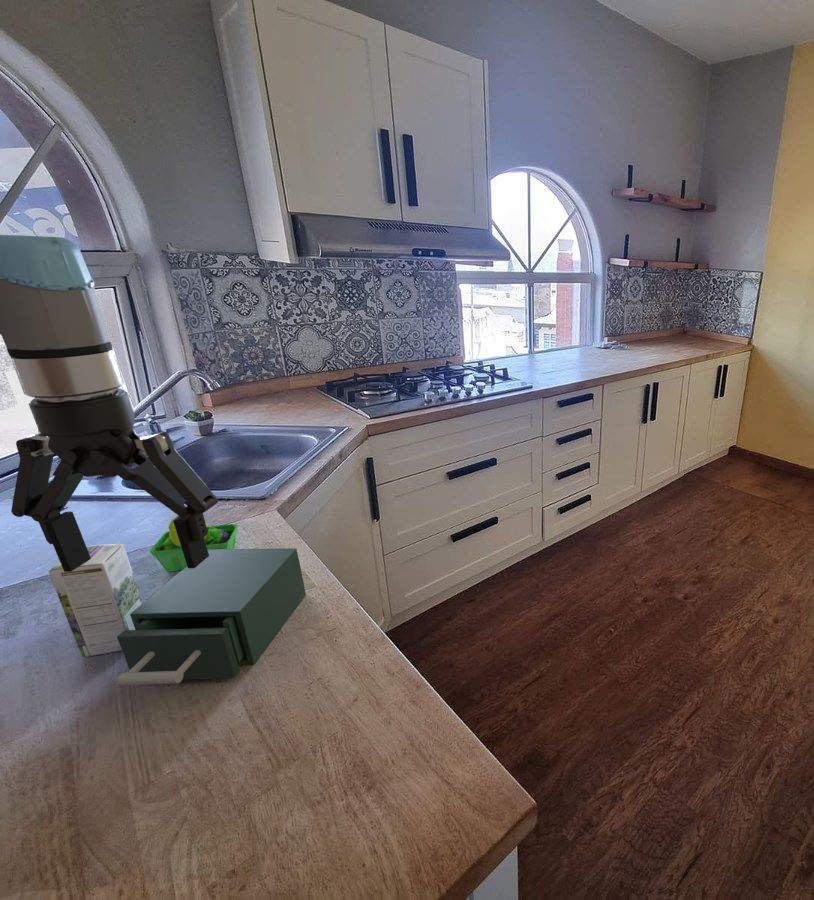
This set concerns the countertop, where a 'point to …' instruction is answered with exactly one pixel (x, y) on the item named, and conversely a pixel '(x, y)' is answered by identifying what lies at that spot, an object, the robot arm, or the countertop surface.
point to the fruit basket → (171, 550)
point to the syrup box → (98, 598)
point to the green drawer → (181, 650)
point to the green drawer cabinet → (234, 594)
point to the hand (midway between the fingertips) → (139, 563)
